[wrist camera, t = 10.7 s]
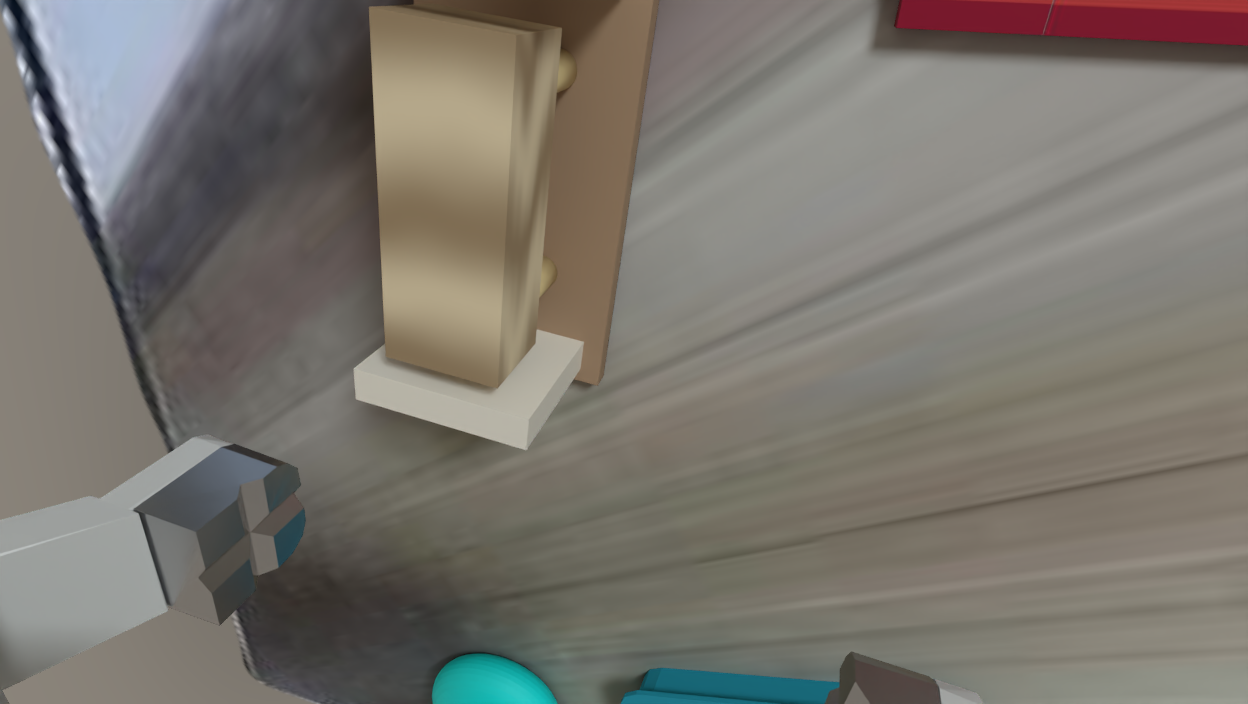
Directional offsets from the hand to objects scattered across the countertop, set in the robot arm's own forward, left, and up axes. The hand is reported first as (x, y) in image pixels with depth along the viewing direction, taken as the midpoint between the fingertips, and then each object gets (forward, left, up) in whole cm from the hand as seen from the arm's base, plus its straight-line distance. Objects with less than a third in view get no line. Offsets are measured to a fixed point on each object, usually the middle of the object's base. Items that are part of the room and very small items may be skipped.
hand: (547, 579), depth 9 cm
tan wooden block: (-1, +10, -19) cm, 21 cm away
